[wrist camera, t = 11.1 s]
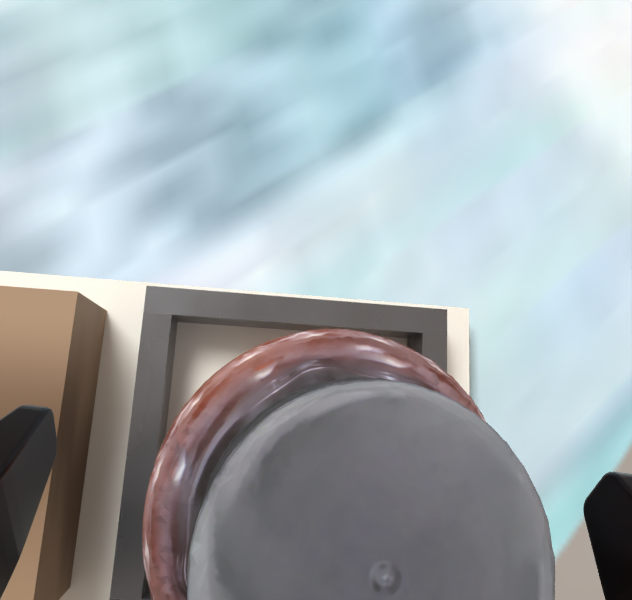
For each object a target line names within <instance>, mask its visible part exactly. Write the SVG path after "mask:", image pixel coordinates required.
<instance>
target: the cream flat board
mask: <svg viewBox="0 0 632 600" xmlns="http://www.w3.org/2000/svg"><path fill="white" fill-rule="evenodd" d="M0 286H12V287H25V288H38V289H51V290H64V291H77V292H79V293H81V294H82V295H84V296H85V297H87V298H88V299H90V300H91V301H93V302H94V303H96V304H97V305H99V306H100V307H102V308H104V309H105V310H107V313H106V320H105V328H104V335H103V343H102V351H101V358H100V366H99V373H98V381H97V388H96V396H95V404H94V411H93V419H92V426H91V434H90V442H89V449H88V457H87V464H86V472H85V479H84V487H83V495H82V502H81V510H80V517H79V525H78V532H77V540H76V548H75V555H74V563H73V570H72V578H71V585H70V588H69V589H68V590H67V591H66V592H65V593H64V595H63V596H62V597H61V598H60V599H59V600H109V599H110V590H111V582H112V573H113V565H114V557H115V548H116V540H117V531H118V523H119V514H120V506H121V497H122V489H123V480H124V472H125V463H126V455H127V446H128V438H129V430H130V421H131V413H132V404H133V396H134V387H135V379H136V370H137V362H138V353H139V345H140V336H141V328H142V319H143V311H144V303H145V294H146V286H158V287H170V288H183V289H195V290H208V291H221V292H233V293H246V294H259V295H271V296H284V297H296V298H309V299H322V300H334V301H347V302H359V303H372V304H385V305H397V306H410V307H423V308H435V309H447V373H448V374H449V375H451V376H452V377H453V378H454V379H455V380H456V381H457V382H458V383H459V385H460V386H461V387H462V388H463V389H464V390H465V391H466V392H467V394H468V395H469V308H458V307H446V306H433V305H420V304H408V303H395V302H383V301H370V300H358V299H345V298H333V297H320V296H308V295H295V294H283V293H270V292H258V291H245V290H233V289H220V288H208V287H195V286H183V285H170V284H158V283H145V282H133V281H120V280H108V279H95V278H83V277H70V276H58V275H45V274H33V273H20V272H8V271H0ZM300 332H304V331H298V330H283V329H269V328H255V327H241V326H227V325H213V324H199V323H185V322H178V324H177V333H176V343H175V352H174V362H173V371H172V381H171V390H170V400H169V410H168V419H167V429H166V435H167V433H168V431H169V429H170V427H171V425H172V423H173V421H174V419H175V418H176V416H177V415H178V414H179V413H180V411H181V409H182V408H183V406H184V405H185V404H186V403H187V402H188V401H189V400H190V399H191V397H192V396H193V395H194V393H195V392H196V391H197V390H198V389H199V388H200V387H201V386H202V385H203V383H204V382H205V381H207V380H208V379H209V378H210V377H211V376H212V375H213V374H214V373H215V372H217V371H218V370H219V369H221V368H222V367H223V366H225V365H226V364H227V363H229V362H230V361H232V360H233V359H235V358H236V357H238V356H239V355H241V354H243V353H245V352H247V351H248V350H250V349H252V348H254V347H255V346H258V345H260V344H263V343H264V342H266V341H270V340H273V339H275V338H278V337H282V336H287V335H291V334H295V333H300ZM381 337H382V336H381ZM384 338H386V339H390V340H393V341H395V342H398V343H400V344H403V345H405V346H406V347H407V338H396V337H384Z"/></svg>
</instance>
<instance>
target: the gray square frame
mask: <svg viewBox="0 0 632 600" xmlns="http://www.w3.org/2000/svg"><path fill="white" fill-rule="evenodd" d="M178 322H185V323H199V324H213V325H227V326H241V327H255V328H269V329H283V330H298V331H307V330H320V329H326V328H328V329H349V330H355V331H363V332H367V333H371V334H374V335H378V336H382V337H396V338H407V347H409V348H411V349H413V350H415V351H416V352H418V353H420V354H422V355H423V356H425V357H427V358H429V359H431V360H433V361H434V362H435V363H436V364H437V365H438V366H439V367H440V368H441V369H443V370H444V371H445V372H446V373H447V309H435V308H423V307H410V306H397V305H385V304H372V303H359V302H347V301H334V300H322V299H309V298H296V297H284V296H271V295H259V294H246V293H233V292H221V291H208V290H195V289H183V288H170V287H158V286H146V294H145V303H144V311H143V319H142V328H141V336H140V345H139V353H138V362H137V370H136V379H135V387H134V396H133V404H132V413H131V421H130V430H129V438H128V446H127V455H126V463H125V472H124V480H123V489H122V497H121V506H120V514H119V523H118V531H117V540H116V548H115V557H114V565H113V573H112V582H111V590H110V599H109V600H152V598H151V594H150V590H149V586H148V581H147V577H146V573H145V568H144V564H143V545H142V532H143V513H144V506H145V499H146V493H147V489H148V485H149V480H150V476H151V474H152V471H153V468H154V463H155V460H156V456H157V454H158V452H159V450H160V448H161V445H162V443H163V441H164V439H165V437H166V429H167V419H168V410H169V400H170V390H171V381H172V371H173V362H174V352H175V343H176V333H177V324H178Z"/></svg>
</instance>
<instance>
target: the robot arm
mask: <svg viewBox="0 0 632 600" xmlns="http://www.w3.org/2000/svg"><path fill="white" fill-rule="evenodd" d="M56 453H57V437H56V429H55V421H54V414H53V411H52V409H51V408H49V407H44V406H36V405H21V406H19V407H17V408H16V409H14V410H13V411H11V412H10V413H8V414H7V415H6V416H4V417H3V418H1V419H0V599H1V597H2V595H3V593H4V591H5V589H6V587H7V585H8V582H9V580H10V578H11V576H12V574H13V572H14V570H15V567H16V565H17V563H18V561H19V558H20V556H21V553H22V550H23V548H24V545H25V542H26V540H27V537H28V534H29V531H30V528H31V526H32V523H33V520H34V517H35V514H36V511H37V509H38V506H39V503H40V500H41V497H42V495H43V492H44V489H45V486H46V483H47V480H48V478H49V475H50V472H51V469H52V466H53V463H54V461H55V457H56ZM584 517H585V521H586V525H587V529H588V533H589V537H590V541H591V545H592V549H593V552H594V557H595V561H596V565H597V569H598V573H599V577H600V581H601V585H602V589H603V592H604V596H605V599H606V600H632V474H628V473H620V472H609V473H606V474H605V475H604V476H603V477H602V479H601V480H600V481H599V482H598V484H597V485H596V486H595V488H594V489H593V490H592V492H591V493H590V494H589V496H588V497H587V498H586V500H585V503H584Z"/></svg>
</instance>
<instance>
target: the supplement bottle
mask: <svg viewBox="0 0 632 600" xmlns="http://www.w3.org/2000/svg"><path fill="white" fill-rule="evenodd" d="M142 545H143V564H144V568H145V573H146V577H147V581H148V586H149V590H150V594H151V598H152V600H555V557H554V553H553V549H552V544H551V535H550V529H549V523H548V519H547V516H546V514H545V511H544V508H543V505H542V502H541V500H540V497H539V495H538V493H537V491H536V489H535V487H534V485H533V483H532V481H531V479H530V477H529V475H528V473H527V471H526V470H525V468H524V466H523V465H522V463H521V462H520V461H519V459H518V458H517V457H516V455H515V454H514V453H513V451H512V450H511V448H510V447H509V445H508V444H507V442H505V441H504V440H503V439H502V438H501V437H500V436H499V434H498V433H497V432H496V431H495V430H494V429H493V428H492V427H491V426H490V425H489V424H488V423H487V422H486V421H485V419H484V417H483V415H482V413H481V412H480V410H479V409H478V407H477V406H476V405H475V403H474V401H473V400H472V398H471V397H470V396H469V395H468V394H467V392H466V391H465V390H464V389H463V388H462V387H461V386H460V385H459V383H458V382H457V381H456V380H455V379H454V378H453V377H452V376H451V375H449V374H448V373H446V372H445V371H444V370H443V369H441V368H440V367H439V366H438V365H437V364H436V363H435V362H434V361H433V360H431V359H429V358H427V357H425V356H423V355H422V354H420V353H418V352H416V351H415V350H413V349H411V348H409V347H406V346H405V345H403V344H400V343H398V342H395V341H393V340H390V339H386V338H384V337H381V336H378V335H374V334H371V333H367V332H363V331H355V330H349V329H328V328H326V329H320V330H307V331H304V332H300V333H295V334H291V335H287V336H282V337H278V338H275V339H273V340H270V341H266V342H264V343H263V344H260V345H258V346H255V347H254V348H252V349H250V350H248V351H247V352H245V353H243V354H241V355H239V356H238V357H236V358H235V359H233V360H232V361H230V362H229V363H227V364H226V365H225V366H223V367H222V368H221V369H219V370H218V371H217V372H215V373H214V374H213V375H212V376H211V377H210V378H209V379H208V380H207V381H205V382H204V383H203V385H202V386H201V387H200V388H199V389H198V390H197V391H196V392H195V393H194V395H193V396H192V397H191V399H190V400H189V401H188V402H187V403H186V404H185V405H184V406H183V408H182V409H181V411H180V413H179V414H178V415H177V416H176V418H175V419H174V421H173V423H172V425H171V427H170V429H169V431H168V433H167V435H166V437H165V439H164V441H163V443H162V445H161V448H160V450H159V452H158V454H157V456H156V460H155V463H154V468H153V471H152V474H151V476H150V480H149V485H148V489H147V493H146V499H145V506H144V513H143V532H142Z"/></svg>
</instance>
